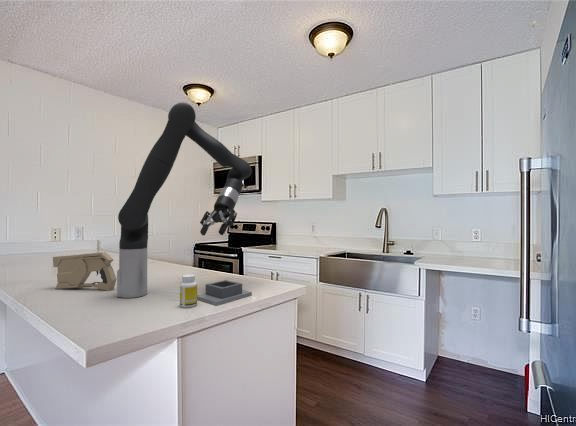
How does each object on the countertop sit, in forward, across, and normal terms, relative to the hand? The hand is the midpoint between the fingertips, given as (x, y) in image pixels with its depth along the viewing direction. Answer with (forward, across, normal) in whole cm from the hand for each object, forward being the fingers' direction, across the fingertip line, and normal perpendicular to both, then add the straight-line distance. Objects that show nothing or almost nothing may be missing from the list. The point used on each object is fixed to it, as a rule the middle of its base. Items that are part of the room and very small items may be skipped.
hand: (211, 234), depth 111 cm
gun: (+25, -52, 0) cm, 58 cm away
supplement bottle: (+26, 0, +4) cm, 26 cm away
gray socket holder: (+18, +5, +14) cm, 23 cm away
